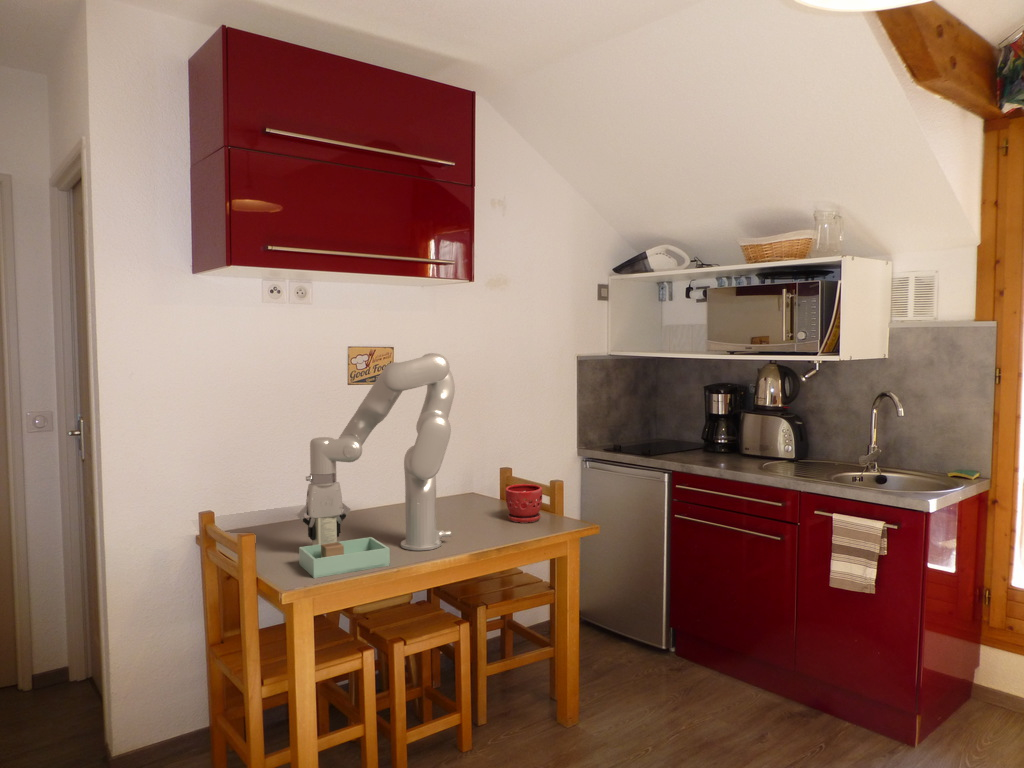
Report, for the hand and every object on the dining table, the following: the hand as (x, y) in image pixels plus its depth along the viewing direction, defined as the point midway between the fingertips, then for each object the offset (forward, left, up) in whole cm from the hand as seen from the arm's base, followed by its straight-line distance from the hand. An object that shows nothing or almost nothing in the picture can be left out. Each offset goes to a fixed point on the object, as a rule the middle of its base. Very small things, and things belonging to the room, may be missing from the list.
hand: (324, 537), depth 224 cm
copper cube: (+2, +14, -4) cm, 15 cm away
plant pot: (-73, -4, -5) cm, 73 cm away
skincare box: (0, 0, -5) cm, 5 cm away
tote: (-1, +15, -5) cm, 16 cm away
